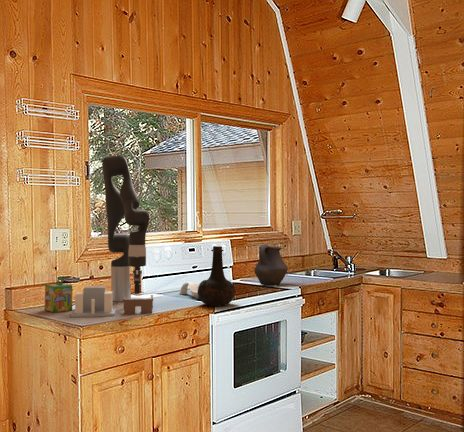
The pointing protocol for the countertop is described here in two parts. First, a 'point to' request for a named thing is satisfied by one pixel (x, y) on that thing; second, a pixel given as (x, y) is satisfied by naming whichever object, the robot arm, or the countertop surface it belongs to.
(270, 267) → the pitcher
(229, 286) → the glass bottle
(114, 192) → the robot arm
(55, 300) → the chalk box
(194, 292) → the spoon rest
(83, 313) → the display stand
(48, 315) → the countertop surface
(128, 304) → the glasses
